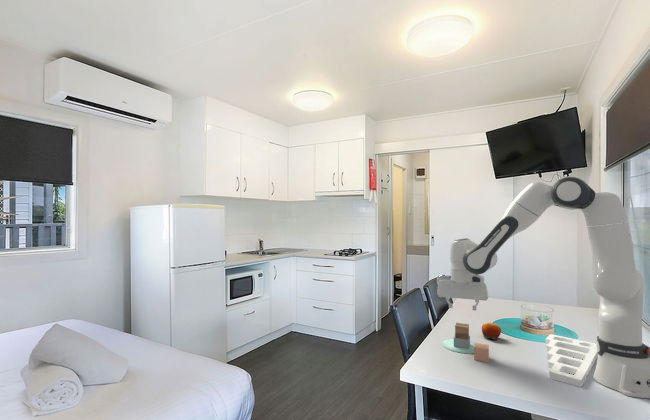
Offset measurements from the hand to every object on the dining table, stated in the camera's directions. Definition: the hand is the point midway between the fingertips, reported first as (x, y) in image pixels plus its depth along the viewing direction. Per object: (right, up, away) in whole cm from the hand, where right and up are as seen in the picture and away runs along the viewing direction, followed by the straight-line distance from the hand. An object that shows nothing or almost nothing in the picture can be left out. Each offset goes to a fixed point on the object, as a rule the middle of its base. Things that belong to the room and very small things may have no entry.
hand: (462, 309), depth 145 cm
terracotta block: (+2, -16, -13) cm, 20 cm away
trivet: (+34, -17, -13) cm, 40 cm away
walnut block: (0, -12, 0) cm, 12 cm away
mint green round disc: (0, -16, 0) cm, 16 cm away
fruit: (+17, -17, +10) cm, 26 cm away
